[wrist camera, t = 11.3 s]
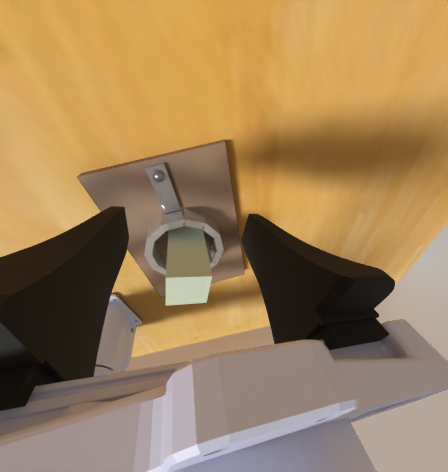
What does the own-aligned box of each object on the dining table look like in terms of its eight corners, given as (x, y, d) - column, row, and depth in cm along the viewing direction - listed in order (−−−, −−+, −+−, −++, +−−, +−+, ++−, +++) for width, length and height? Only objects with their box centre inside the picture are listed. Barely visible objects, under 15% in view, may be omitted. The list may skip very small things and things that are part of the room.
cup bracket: (243, 269, 31) (249, 286, 28) (161, 292, 30) (160, 311, 27) (223, 140, 18) (231, 147, 15) (81, 173, 17) (63, 187, 15)
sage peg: (202, 226, 23) (212, 276, 16) (199, 251, 25) (206, 302, 19) (168, 225, 21) (165, 277, 15) (168, 250, 24) (165, 305, 18)
